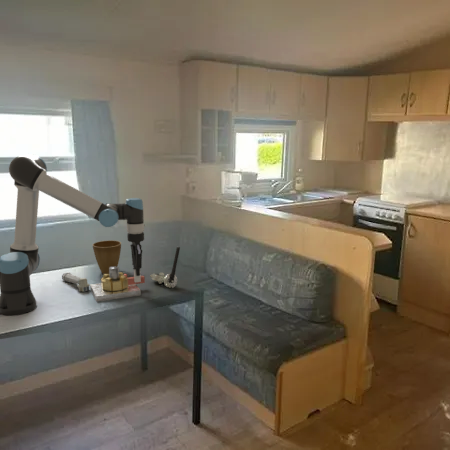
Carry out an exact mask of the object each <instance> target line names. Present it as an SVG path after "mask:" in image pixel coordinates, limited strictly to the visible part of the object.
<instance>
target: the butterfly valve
mask: <svg viewBox="0 0 450 450" xmlns="http://www.w3.org/2000/svg"><path fill="white" fill-rule="evenodd" d="M180 249H181V247H180V246H177V247H176V249H175V255H174V260H173V265H172V268H171V272H170V273H168V274H166V275H165V273H164V272H159V273H152V274H150V276H149V277H150V278H151V280H153V281H154V282H158V284H160V285H161V284H164V286H165V287H167V288H172V289H173V288H175V287H176V286H177V284H178V277H177V276H176V271H177V264H178V259H179V254H180Z"/></svg>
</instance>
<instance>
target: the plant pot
mask: <svg viewBox="0 0 450 450" xmlns="http://www.w3.org/2000/svg"><path fill="white" fill-rule="evenodd" d="M92 248H93V252H94V253H93V254H94V256H95V260H96V263H97V265H98V268H99V270H100V272H101V274H103V275H104V274H109V268H110V267H114V266H116V267H119V262H120V258H121V250H122V242H121V241H120V240H114V239H113V240H109V239H108V240H101V241H96V242H94V243H92Z"/></svg>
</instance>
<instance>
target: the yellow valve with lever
mask: <svg viewBox="0 0 450 450" xmlns="http://www.w3.org/2000/svg"><path fill="white" fill-rule="evenodd" d="M100 283H101V286H102V289H103V290H107V291H112V290H113V291H117V290H122V289H125V288H127V287H128V285H133V284H136V285H138V284H145V283H146V280H145V276H144V275H141V282H136V283H135V282H134V276H130V277H129V276H128V274H127V273H124V272H123V271H122V272H120V271H119V280H117V281H112V278H110V276H109V274H103V275H102V277H101V279H100Z"/></svg>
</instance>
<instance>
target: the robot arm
mask: <svg viewBox="0 0 450 450" xmlns="http://www.w3.org/2000/svg"><path fill="white" fill-rule="evenodd" d="M47 168H48V167H47V164H46V162H45V160H44V159H43V158H41V157H40V156H38V155H36V154H29V153H28V154H24V155H18V156H16V157H15V158H13V159H12V160H11V161H10V163H9V166H8V172H9V176H10V177H11V178H12V179H13V180H14V182H13V183H14V184H13V185H14V186H15V187H16V188H17V195H16V197H17V198H16V211H15V223H14V224H15V226H14V227H15V228H14V242H12V243H11V244H10V247H9V252H8V253H5V254H2V255H1V256H0V315H2V316H3V315H4V316H17V315H23V314H27V313H30V312H32V311H34V310H35V309H36V308H37V306H38V305H37V300H36V298H35V296H34V294H33V292H32V288H31V277H30V276H31V275H32V274H33V273H34V272H35V271H36V270H37V269H38V267H39V265H40V263H41V258H40V254H39V246H38V244H37V243H36V240H37V239H36V238H37V223H38V213H39V212H38V210H39V209H38V208H39V197H40V192H41V193H42V194H43V193H44V194H45V195H47V196H50V197H51V198H52V199H53V198H54V199H55V200H57V201H59V202H61V203H63V204H65V205H67V206H69V207H71V208H72V209H75V210H76V211H78V212H80V213H81V214H84V215H86V216H87V217H90V218H92V219H93V220H95V221H97V222H99V223H100V225H101V226H103V227H105V228H112V227H114V225H116V224H117V223H118V222H119V221H125V220H126V232H127V234H126V236H127V241H128V242H129V243H131V244H130V249H131V261H132V266H133V268H132V269H133V277H134V282H135V283H136V282H141V276H142V274H141V273H142V272H141V269H142V268H143V267H142V265H143V262H142V261H143V258H142V257H143V249H142V245H141V242H143V241H145V233H144V231H145V228H144V227H146V226H145V224H144V202H143V200H142V199H141V198H139V197H131V198H126V199H125V202H122V203H104V202H101V200H100V201H99V200H98V199H96V198H94V197H92V196H90V195H88V194H87V193H84V192H82V191H81V190H79V189H77V188H75V187H74V186H72V185H69V184H68V183H66V182H63V181H62V180H60V179H58V178H56V177H54V176H53V175H50V174H49V173H47V171H48V170H47Z"/></svg>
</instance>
